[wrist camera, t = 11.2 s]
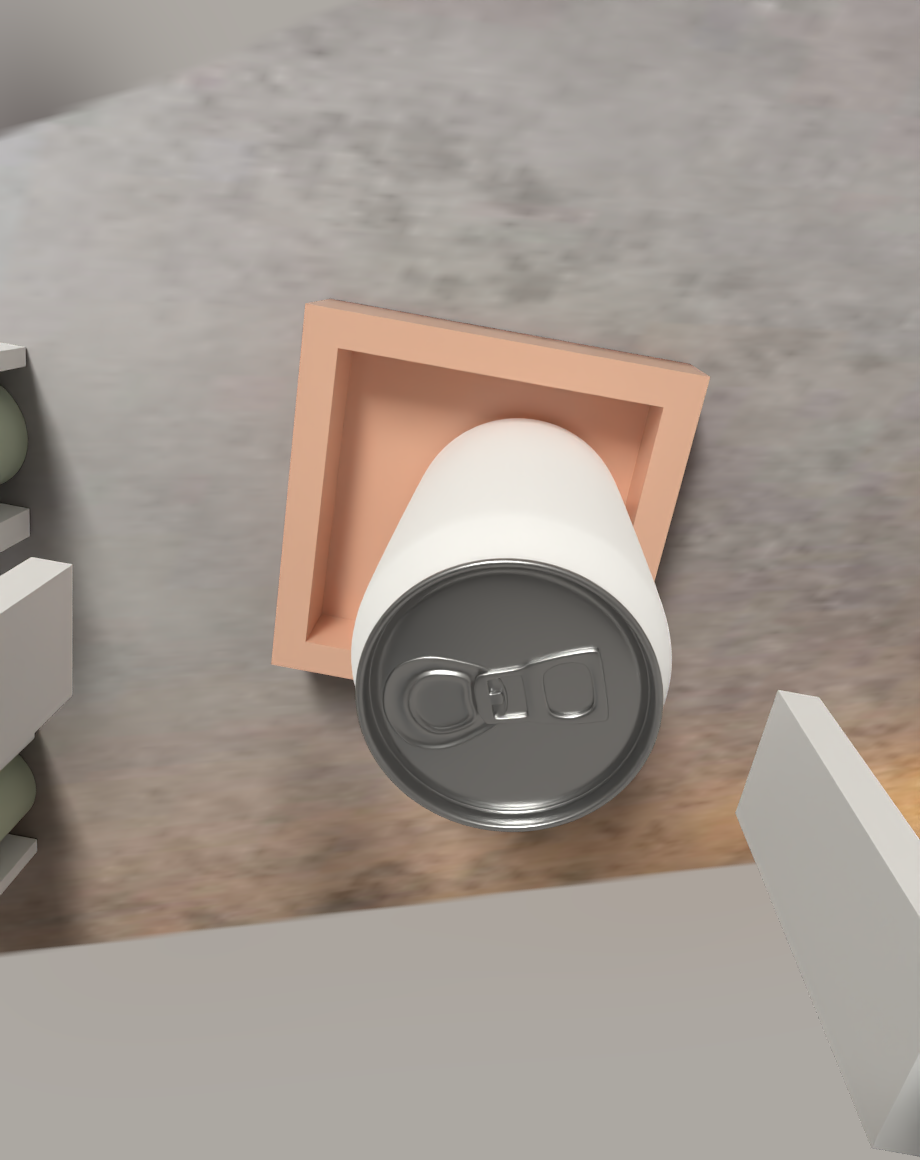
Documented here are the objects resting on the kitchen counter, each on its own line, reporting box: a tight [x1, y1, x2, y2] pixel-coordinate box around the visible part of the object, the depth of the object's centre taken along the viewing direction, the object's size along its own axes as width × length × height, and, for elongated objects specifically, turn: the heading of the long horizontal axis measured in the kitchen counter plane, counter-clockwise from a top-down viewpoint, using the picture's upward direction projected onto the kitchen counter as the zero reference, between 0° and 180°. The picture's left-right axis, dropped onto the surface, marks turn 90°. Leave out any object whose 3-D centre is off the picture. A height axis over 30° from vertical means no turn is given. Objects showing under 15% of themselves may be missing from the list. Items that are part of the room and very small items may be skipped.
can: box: [351, 418, 672, 832], centre depth 21 cm, size 6×6×12 cm
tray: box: [271, 299, 710, 680], centre depth 26 cm, size 11×11×3 cm
